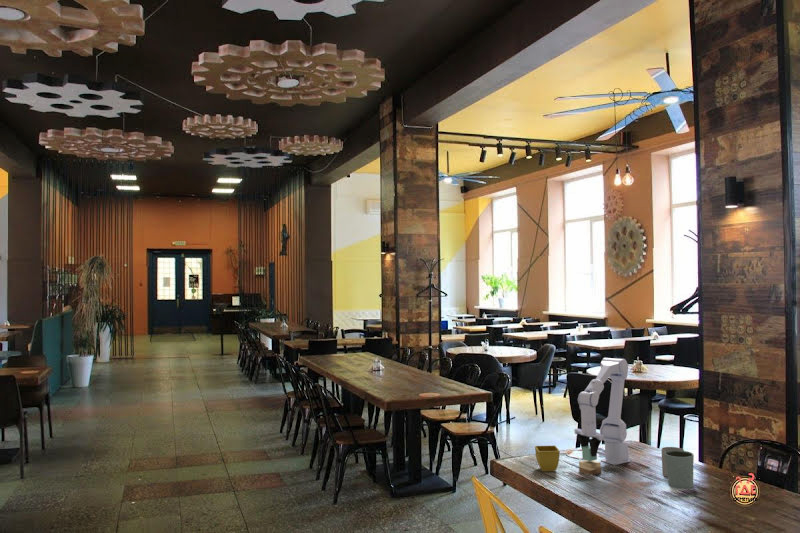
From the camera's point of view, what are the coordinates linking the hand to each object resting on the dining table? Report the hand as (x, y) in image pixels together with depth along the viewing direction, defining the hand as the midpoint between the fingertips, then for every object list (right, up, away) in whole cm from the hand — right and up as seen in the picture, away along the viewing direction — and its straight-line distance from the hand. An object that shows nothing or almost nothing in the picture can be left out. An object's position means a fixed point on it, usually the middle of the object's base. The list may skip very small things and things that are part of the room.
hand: (589, 454), depth 269 cm
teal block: (0, -2, 0) cm, 2 cm away
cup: (+31, -6, -7) cm, 33 cm away
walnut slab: (0, -8, 0) cm, 8 cm away
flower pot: (-16, -8, +5) cm, 18 cm away
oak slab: (0, -5, 0) cm, 5 cm away
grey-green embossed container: (+28, -6, -20) cm, 35 cm away
